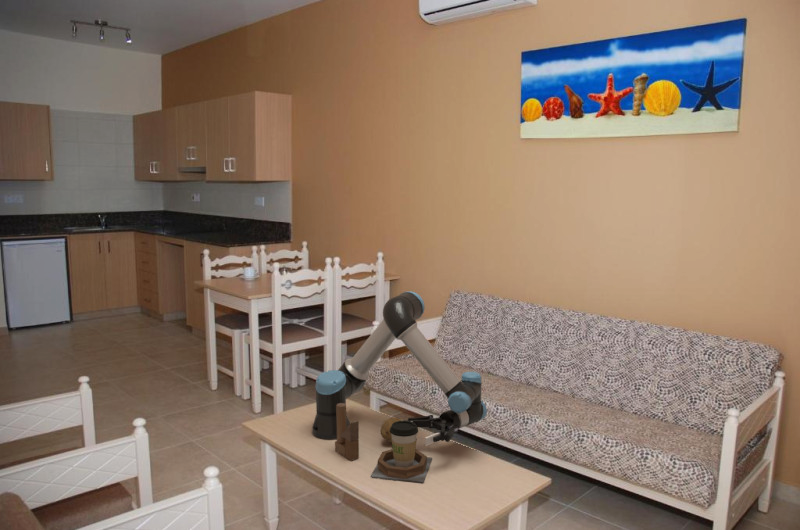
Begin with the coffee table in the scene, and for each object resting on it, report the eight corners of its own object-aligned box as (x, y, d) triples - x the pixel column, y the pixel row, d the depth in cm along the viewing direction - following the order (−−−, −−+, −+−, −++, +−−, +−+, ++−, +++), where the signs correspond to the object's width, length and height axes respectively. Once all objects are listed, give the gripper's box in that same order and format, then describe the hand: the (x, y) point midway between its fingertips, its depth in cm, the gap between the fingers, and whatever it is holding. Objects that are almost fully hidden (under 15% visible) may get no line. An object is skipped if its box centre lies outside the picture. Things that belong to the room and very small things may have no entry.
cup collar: (383, 454, 221) (383, 444, 220) (432, 459, 217) (432, 449, 217) (370, 477, 204) (370, 467, 203) (423, 483, 200) (423, 473, 199)
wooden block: (350, 461, 216) (350, 412, 213) (334, 450, 224) (333, 404, 221) (359, 458, 218) (358, 410, 215) (343, 448, 226) (342, 401, 224)
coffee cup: (390, 460, 215) (390, 419, 213) (418, 460, 215) (418, 419, 213) (389, 473, 205) (389, 431, 203) (418, 473, 205) (418, 431, 203)
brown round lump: (384, 449, 225) (384, 424, 223) (377, 440, 233) (377, 415, 232) (407, 446, 228) (407, 420, 226) (399, 436, 236) (399, 412, 235)
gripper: (479, 439, 216) (437, 457, 202) (430, 419, 235) (388, 434, 221) (479, 419, 215) (437, 436, 201) (430, 401, 234) (388, 415, 220)
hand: (411, 435), depth 211 cm, fingers open, 13 cm apart
